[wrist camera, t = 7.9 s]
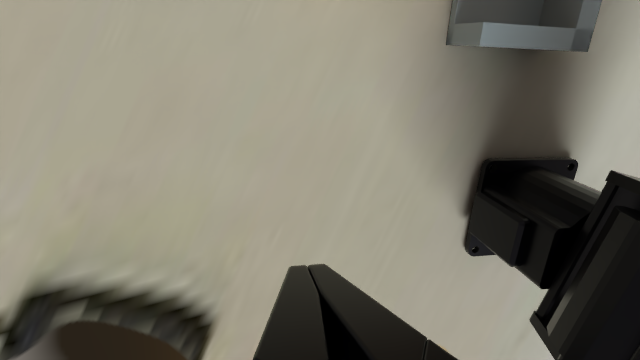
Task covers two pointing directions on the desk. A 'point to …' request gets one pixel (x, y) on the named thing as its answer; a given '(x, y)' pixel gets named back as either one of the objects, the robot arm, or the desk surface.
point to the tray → (523, 24)
